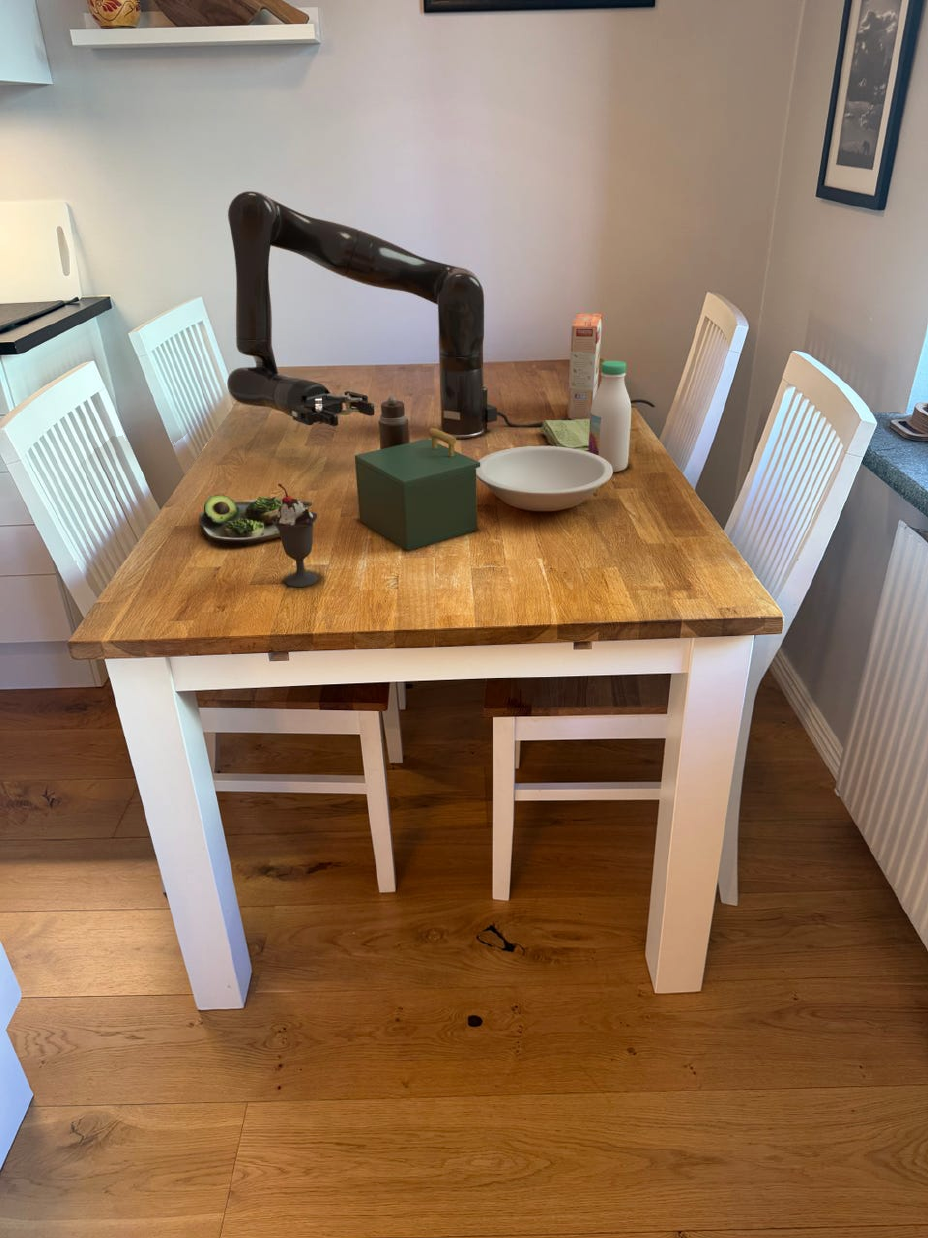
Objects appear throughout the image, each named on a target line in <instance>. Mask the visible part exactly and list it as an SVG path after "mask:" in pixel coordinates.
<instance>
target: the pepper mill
mask: <svg viewBox="0 0 928 1238" xmlns="http://www.w3.org/2000/svg"><path fill="white" fill-rule="evenodd" d="M380 411H381V412H380V414H379V420H378V435H379V437H378V438H379V448H380V449H384V448H389V447H393V446H397V445H402V444H406V443H410V427H409V419H408V418H407V413H405V403H404V402H403V401H400V400H398V399H397V398H396V396H394V395H390V396H389V397H388V398H387V400H386V401H383V402H381V403H380ZM380 449H379V450H380Z"/></svg>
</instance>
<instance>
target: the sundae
mask: <svg viewBox="0 0 928 1238" xmlns="http://www.w3.org/2000/svg"><path fill="white" fill-rule="evenodd" d="M277 486H278V487H280V488H281V489H282V490H283V491H284V494H285V496H284V497H282V498H281V499H282V506H281V507H279V509H278V514H277V515H274V516H273V517H272V518H271V522H272V523H273V524H274V526H276V527H277V528H278V530H279V534H280V537H279V538H280V542H281V544H282V548H283V550H284V553H285V555H286V556H288V557H289V558H290V559H292V560H294V561H295V567H296V571H295V572H293V573H291V574H289V575H288V576H287V577H285V580H284V581H285V584H286V585H287V586H289V587H292V588H306V587H310V586H313V585H315V584H316V583H317V582H318V581H319V575H318V574H316V573H314V572H312V571H307V570H306V568H305V561H304V560H305V559H306V558H307V557H308V556H309V555H310V554H311V553H312V551H313V543H314V540H313V539H314V524H315V523H316V521H317V520H318V513H316V512H313V511H311V510H309V508H306V507H304V505H303V503H301V502H300V500H298V499H295V498H293V497H292V496H289V495H288V492H287V490H286V488H285V487H284V486H283V484H282V483H278V484H277Z"/></svg>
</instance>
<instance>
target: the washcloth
mask: <svg viewBox="0 0 928 1238" xmlns="http://www.w3.org/2000/svg"><path fill="white" fill-rule="evenodd" d="M543 422H544V423H543V425H542V426H541V428H540V432H541V434H542V435H543V436H545V438H546V441H547V442H548V443H549V444H550V445H551V446H558V447H567V448H573V449H578V450H583V451H586V452H588V446H589V428H590V419H579V420H578V419H575V420H566V421H564V420H563V421H562V419H554V420H553V419H549V420H547V419H546V420H544V421H543Z"/></svg>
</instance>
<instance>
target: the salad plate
mask: <svg viewBox="0 0 928 1238" xmlns="http://www.w3.org/2000/svg"><path fill="white" fill-rule="evenodd" d="M282 499H283V498H279V497H276V496H273V497H270V496H268V497H264V496H263V497H261V496H259V497H258V498H256V499H251V500H247V501H235V500H234V499H232V498H231V497H229V496H226V495H221V494H215V495H212V496H210V497H209V498H207V500H206V501H205V503H204V505H203V510H202V511H201V513H200V514H199V516H198V523H199V524H200V528H201V530H202V531H203V533H204V535H205V537H206V538H207V540H208V541H210V542H211V543H212V544H215V545H217V546H219V547H228V548H231V547H233V548H234V547H244V546H249V545H254V544H260V543H264V542H268V541H272V540H276V539H279V538H281V537H280V534H279V530H278V528H277V527H276V526H274V524H273V523H272V522H271V518H272V517H273V516H274V515H277V514H278V509H279V507H281V506H282ZM299 501H300V500H299ZM300 502H301V503H303V505H304V507H305V508H309V507H311V506H313V501H306V500H303V501H302V500H301V501H300Z"/></svg>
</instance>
